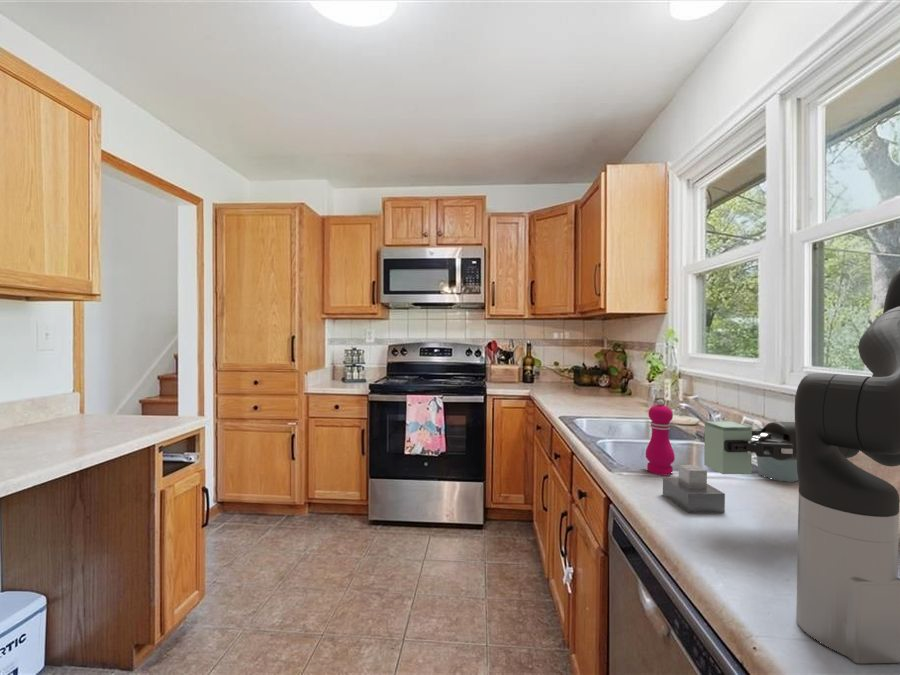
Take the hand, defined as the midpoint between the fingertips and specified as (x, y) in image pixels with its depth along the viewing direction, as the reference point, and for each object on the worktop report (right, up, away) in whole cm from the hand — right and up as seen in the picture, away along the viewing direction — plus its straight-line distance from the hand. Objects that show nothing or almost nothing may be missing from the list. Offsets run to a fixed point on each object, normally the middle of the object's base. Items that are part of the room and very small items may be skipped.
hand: (715, 441), depth 83 cm
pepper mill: (+5, -16, +32) cm, 37 cm away
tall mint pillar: (+3, -5, 0) cm, 6 cm away
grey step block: (+2, -17, +11) cm, 20 cm away
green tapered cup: (+35, -17, +29) cm, 49 cm away
